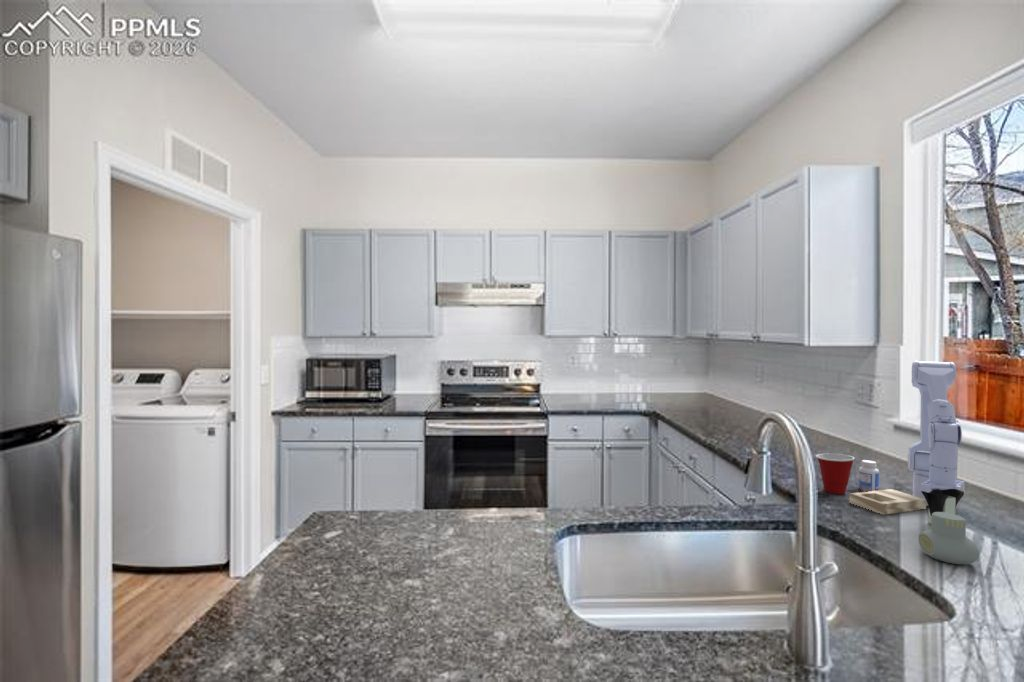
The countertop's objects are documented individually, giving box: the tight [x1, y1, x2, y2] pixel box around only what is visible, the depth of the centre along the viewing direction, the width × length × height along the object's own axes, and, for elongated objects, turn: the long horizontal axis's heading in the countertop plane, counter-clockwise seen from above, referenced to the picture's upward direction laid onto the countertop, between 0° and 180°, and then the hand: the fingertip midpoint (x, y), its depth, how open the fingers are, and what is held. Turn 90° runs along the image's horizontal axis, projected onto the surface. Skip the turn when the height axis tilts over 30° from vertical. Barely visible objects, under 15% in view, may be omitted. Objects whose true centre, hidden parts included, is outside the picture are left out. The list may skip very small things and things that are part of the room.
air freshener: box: [917, 512, 980, 566], centre depth 113 cm, size 11×8×10 cm
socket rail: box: [848, 488, 927, 515], centre depth 149 cm, size 18×10×3 cm, turn 108°
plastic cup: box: [815, 452, 856, 495], centre depth 163 cm, size 11×11×12 cm
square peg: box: [927, 496, 956, 525], centre depth 135 cm, size 4×4×8 cm
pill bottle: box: [858, 459, 880, 492], centre depth 165 cm, size 6×5×10 cm
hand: (941, 516), depth 135 cm, fingers closed on square peg, 4 cm apart
